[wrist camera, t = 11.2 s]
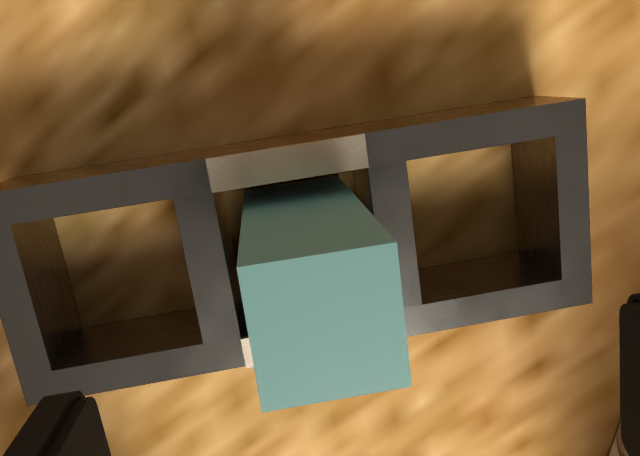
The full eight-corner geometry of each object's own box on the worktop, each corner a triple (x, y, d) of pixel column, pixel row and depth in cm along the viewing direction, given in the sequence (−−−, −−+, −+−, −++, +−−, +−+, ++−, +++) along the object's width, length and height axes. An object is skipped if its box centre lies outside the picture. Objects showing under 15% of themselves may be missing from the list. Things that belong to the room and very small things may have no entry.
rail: (11, 178, 24) (-39, 197, 20) (535, 95, 25) (588, 98, 21) (61, 357, 26) (25, 408, 22) (545, 272, 27) (595, 304, 23)
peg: (244, 189, 25) (236, 267, 15) (338, 175, 25) (396, 242, 15) (259, 279, 26) (261, 412, 16) (349, 264, 26) (411, 386, 16)
